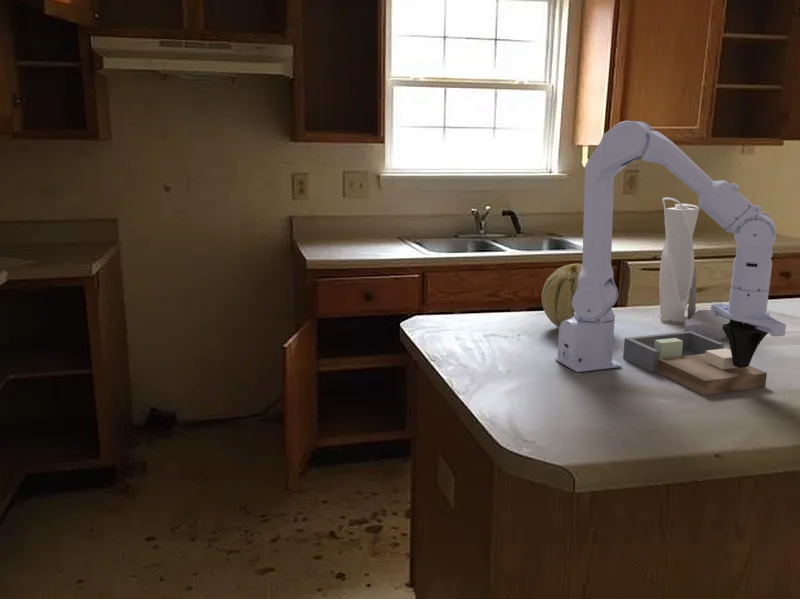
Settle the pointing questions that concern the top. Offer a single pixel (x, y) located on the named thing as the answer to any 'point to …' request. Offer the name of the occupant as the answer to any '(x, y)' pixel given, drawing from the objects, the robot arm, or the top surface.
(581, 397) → the top surface
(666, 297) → the skyscraper
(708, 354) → the cream tile
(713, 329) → the stone block
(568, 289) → the cantaloupe
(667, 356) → the sage tile
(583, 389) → the top surface
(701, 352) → the box
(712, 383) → the walnut board
